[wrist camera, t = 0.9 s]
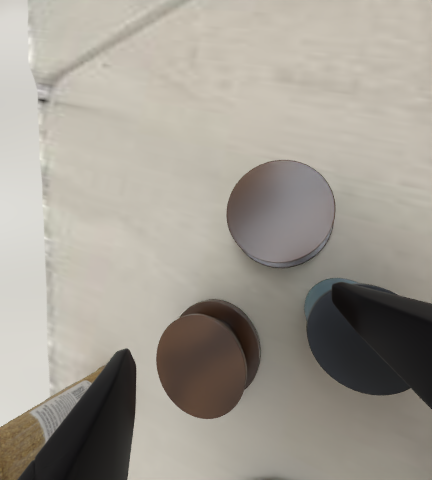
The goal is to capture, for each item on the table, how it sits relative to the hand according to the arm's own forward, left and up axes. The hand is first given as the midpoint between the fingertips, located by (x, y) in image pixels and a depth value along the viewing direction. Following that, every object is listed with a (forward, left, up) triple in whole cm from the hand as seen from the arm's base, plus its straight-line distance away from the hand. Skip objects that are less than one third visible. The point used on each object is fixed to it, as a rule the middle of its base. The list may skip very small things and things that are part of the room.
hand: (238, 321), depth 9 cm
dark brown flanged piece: (+2, -6, -12) cm, 14 cm away
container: (-6, -1, -12) cm, 14 cm away
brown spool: (+2, +8, -12) cm, 14 cm away
